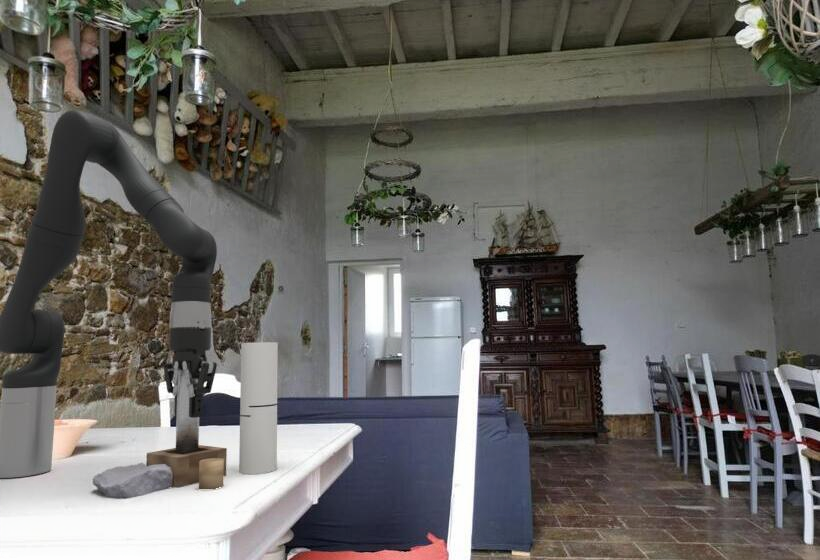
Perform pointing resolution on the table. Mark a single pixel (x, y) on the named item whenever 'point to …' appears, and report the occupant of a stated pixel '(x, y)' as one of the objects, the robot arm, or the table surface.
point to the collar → (185, 462)
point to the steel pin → (185, 418)
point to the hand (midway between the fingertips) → (188, 416)
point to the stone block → (134, 480)
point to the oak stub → (211, 473)
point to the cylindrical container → (258, 408)
